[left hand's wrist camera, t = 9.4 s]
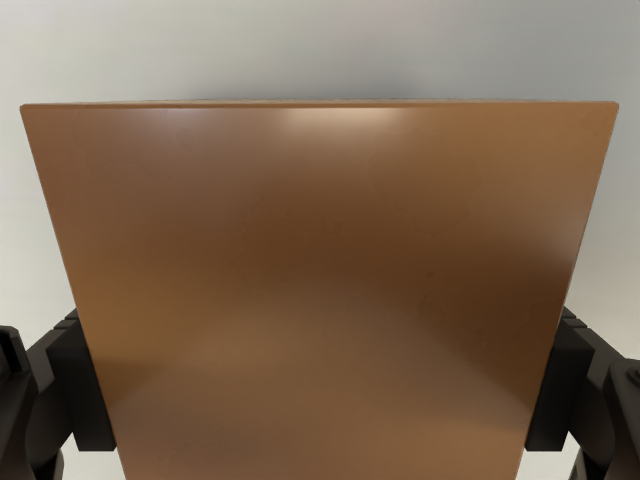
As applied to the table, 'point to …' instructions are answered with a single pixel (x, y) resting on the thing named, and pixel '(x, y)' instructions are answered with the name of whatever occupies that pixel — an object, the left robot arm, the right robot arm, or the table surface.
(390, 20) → the table surface
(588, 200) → the slab
